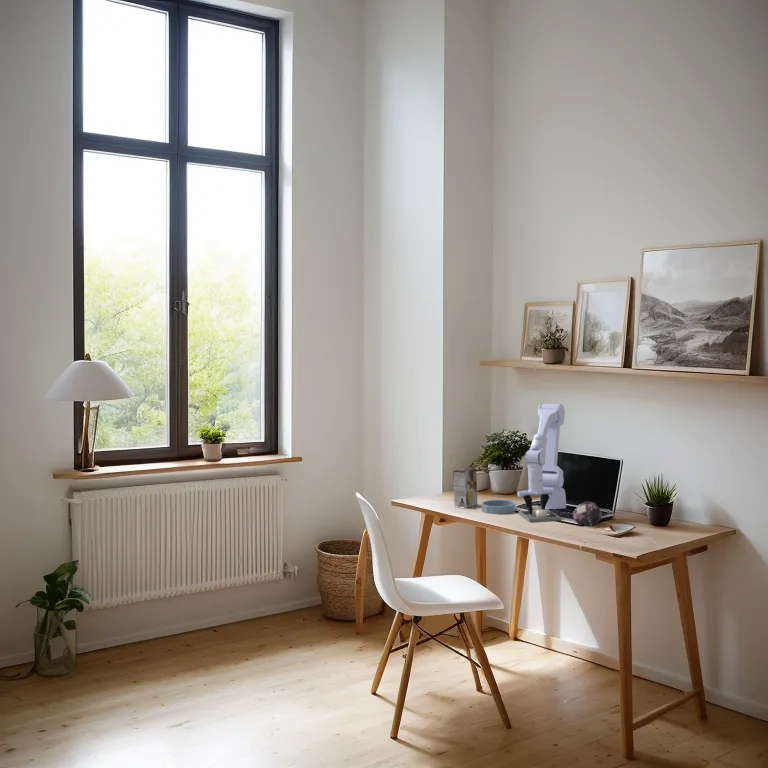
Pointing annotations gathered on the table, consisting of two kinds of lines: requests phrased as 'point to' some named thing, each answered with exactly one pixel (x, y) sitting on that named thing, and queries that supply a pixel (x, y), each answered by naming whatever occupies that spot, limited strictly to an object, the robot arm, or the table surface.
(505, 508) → the bowl
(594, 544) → the table surface
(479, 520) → the table surface
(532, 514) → the light pebble
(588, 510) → the mineral specimen
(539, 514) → the cream rounded piece
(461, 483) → the coffee box
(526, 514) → the parts tray
